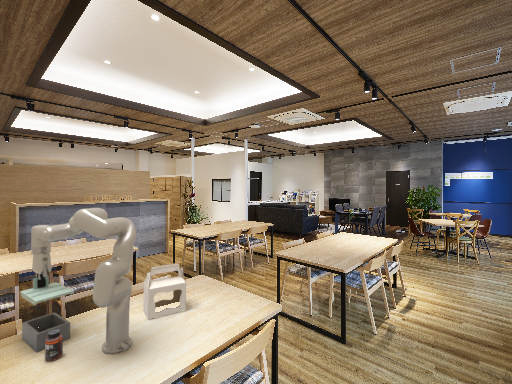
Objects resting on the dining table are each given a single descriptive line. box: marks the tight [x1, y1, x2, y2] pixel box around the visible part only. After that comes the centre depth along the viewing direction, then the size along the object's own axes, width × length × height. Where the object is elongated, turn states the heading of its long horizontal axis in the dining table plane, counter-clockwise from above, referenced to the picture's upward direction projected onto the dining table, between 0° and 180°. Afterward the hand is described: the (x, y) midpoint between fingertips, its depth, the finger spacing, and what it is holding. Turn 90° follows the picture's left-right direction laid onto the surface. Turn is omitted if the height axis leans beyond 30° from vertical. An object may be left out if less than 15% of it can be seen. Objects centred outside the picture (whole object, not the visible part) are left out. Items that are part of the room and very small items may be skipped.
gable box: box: [142, 262, 187, 321], centre depth 156 cm, size 22×13×28 cm, turn 124°
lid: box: [19, 275, 75, 306], centre depth 124 cm, size 20×15×7 cm
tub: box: [21, 312, 71, 354], centre depth 125 cm, size 18×13×8 cm
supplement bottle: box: [44, 329, 64, 362], centre depth 112 cm, size 6×6×11 cm
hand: (40, 286), depth 129 cm, fingers closed on lid, 1 cm apart
